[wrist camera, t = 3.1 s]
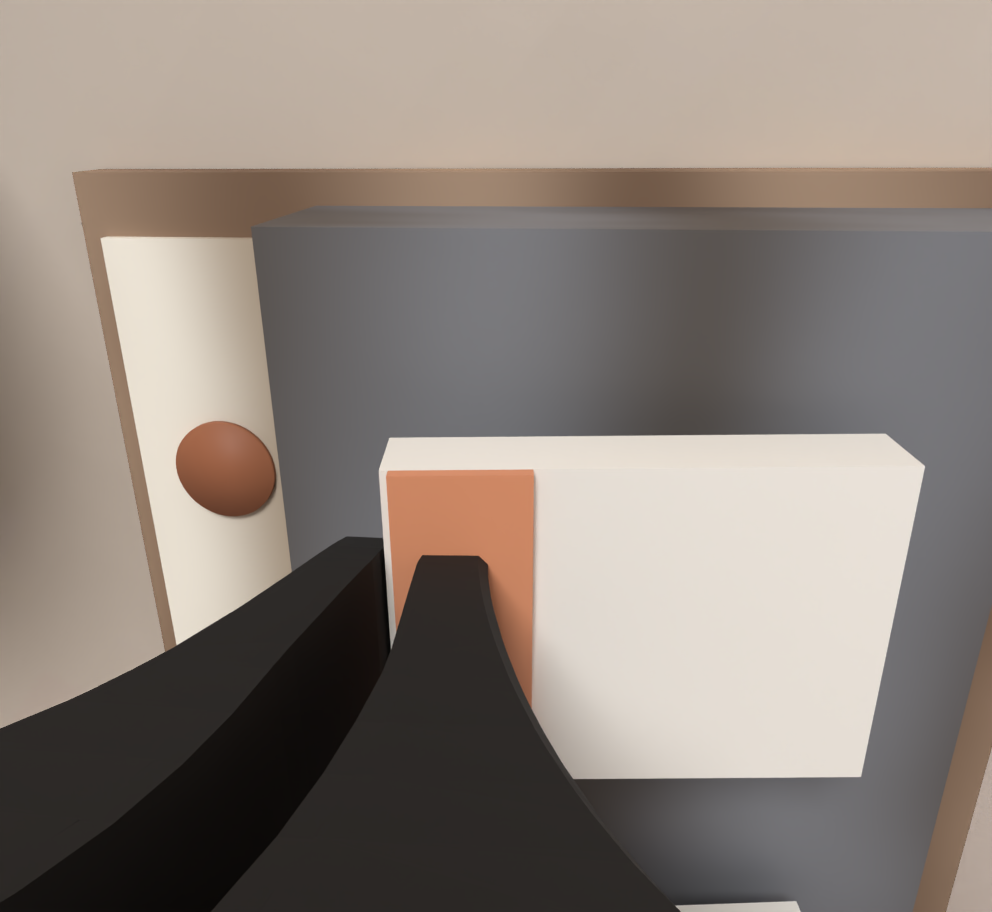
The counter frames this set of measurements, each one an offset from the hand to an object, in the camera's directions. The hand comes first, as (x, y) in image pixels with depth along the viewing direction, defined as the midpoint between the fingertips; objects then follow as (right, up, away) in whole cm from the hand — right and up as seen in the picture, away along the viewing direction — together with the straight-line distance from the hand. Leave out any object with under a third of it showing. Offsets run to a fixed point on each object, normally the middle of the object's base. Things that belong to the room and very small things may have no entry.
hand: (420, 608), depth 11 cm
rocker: (+3, 0, 0) cm, 3 cm away
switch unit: (+2, -6, +8) cm, 10 cm away
